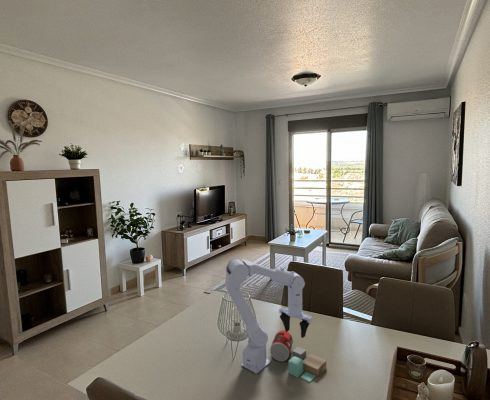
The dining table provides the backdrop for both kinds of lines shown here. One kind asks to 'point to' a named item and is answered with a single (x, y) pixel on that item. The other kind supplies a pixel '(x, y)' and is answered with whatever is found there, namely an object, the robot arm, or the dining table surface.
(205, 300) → the dining table surface
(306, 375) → the swatch
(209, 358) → the dining table surface
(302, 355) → the grey block
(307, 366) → the walnut base
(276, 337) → the canned food
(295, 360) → the teal block
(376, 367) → the dining table surface
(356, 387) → the dining table surface
